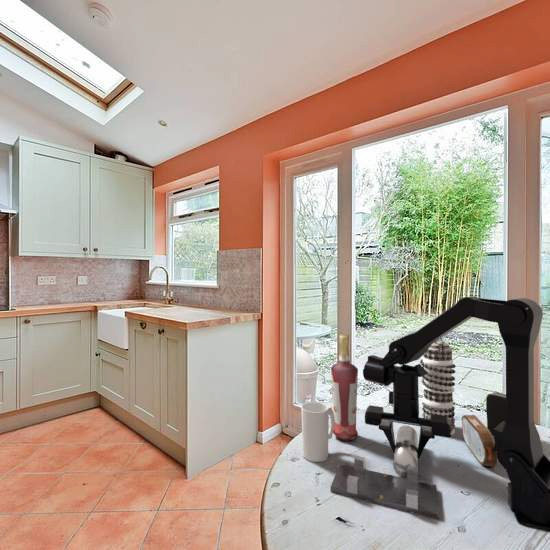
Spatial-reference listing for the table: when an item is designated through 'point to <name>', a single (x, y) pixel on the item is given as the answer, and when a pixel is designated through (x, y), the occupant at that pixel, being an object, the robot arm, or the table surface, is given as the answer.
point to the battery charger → (495, 410)
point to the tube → (405, 450)
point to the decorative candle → (438, 382)
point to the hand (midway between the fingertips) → (406, 455)
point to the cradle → (387, 488)
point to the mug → (316, 430)
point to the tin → (479, 440)
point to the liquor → (344, 393)
